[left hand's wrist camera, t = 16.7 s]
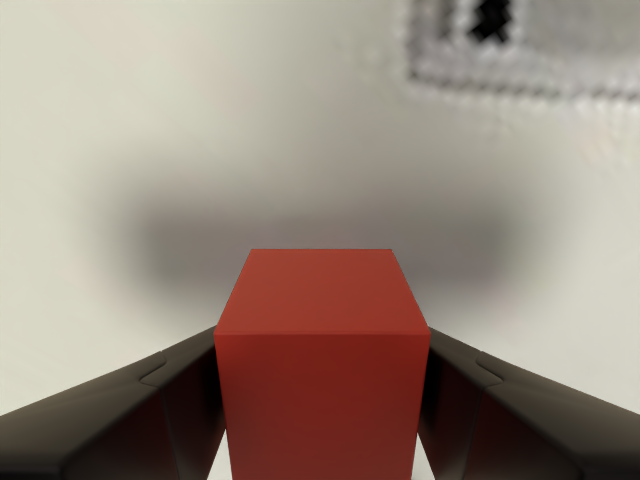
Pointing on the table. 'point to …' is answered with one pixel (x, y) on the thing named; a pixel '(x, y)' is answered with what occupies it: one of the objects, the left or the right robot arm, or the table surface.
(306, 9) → the table surface
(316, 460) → the brick
